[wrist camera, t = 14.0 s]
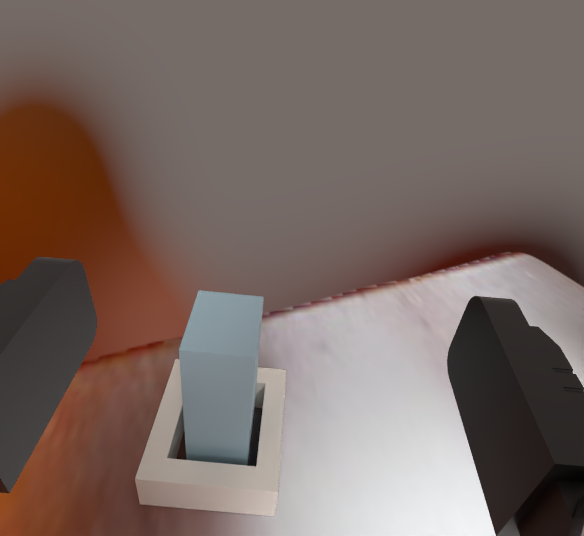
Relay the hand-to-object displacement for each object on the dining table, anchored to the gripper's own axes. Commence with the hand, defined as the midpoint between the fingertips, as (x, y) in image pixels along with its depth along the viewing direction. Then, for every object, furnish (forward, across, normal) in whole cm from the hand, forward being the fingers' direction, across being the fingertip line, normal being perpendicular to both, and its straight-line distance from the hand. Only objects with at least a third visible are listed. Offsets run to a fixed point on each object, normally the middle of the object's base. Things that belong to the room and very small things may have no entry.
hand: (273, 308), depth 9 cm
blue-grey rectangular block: (+11, +3, +24) cm, 26 cm away
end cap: (+11, +4, +24) cm, 26 cm away
